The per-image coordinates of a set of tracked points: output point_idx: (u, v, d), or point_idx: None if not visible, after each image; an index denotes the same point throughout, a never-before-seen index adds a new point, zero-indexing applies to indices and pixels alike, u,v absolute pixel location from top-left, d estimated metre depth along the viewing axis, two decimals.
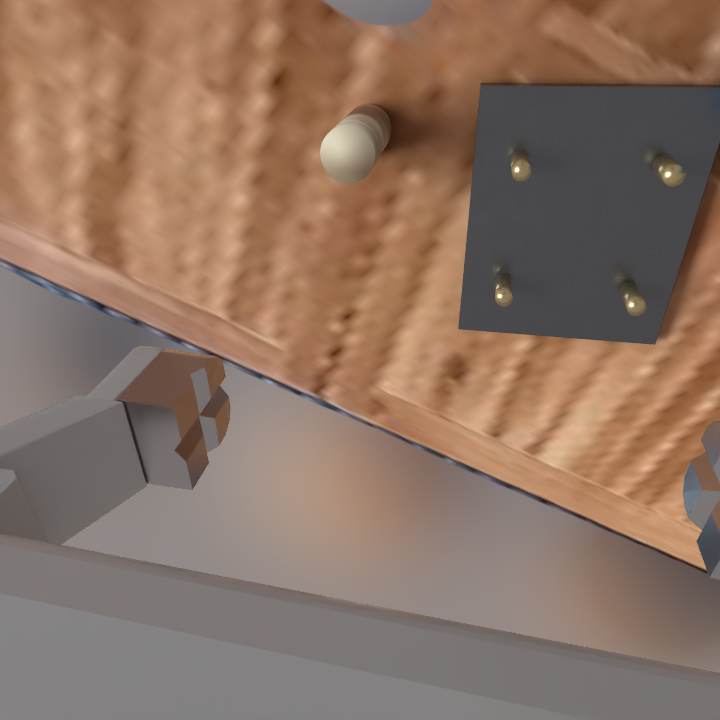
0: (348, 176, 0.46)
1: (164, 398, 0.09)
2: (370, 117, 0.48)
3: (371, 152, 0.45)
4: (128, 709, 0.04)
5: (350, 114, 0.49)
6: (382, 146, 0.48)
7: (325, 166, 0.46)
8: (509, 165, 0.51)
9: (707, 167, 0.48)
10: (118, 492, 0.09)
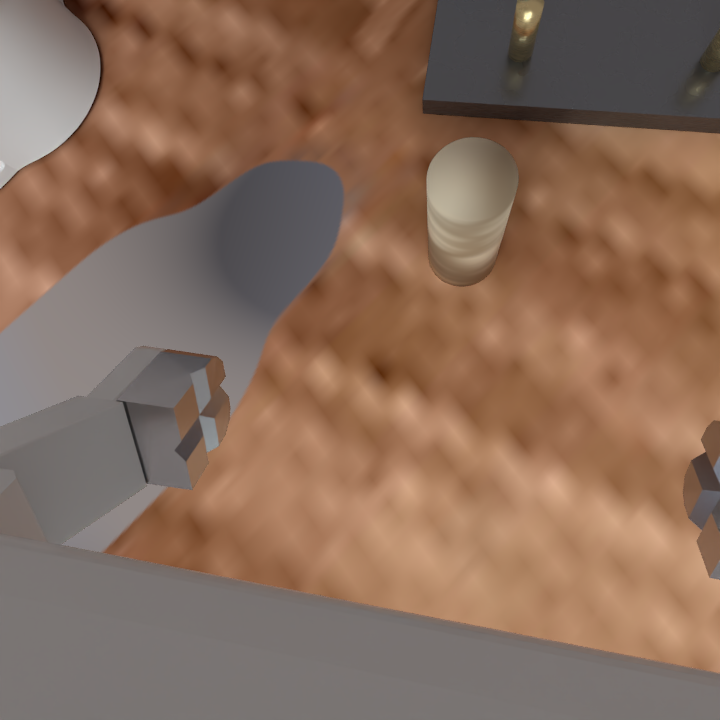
0: (506, 180, 0.27)
1: (164, 398, 0.09)
2: None
3: (471, 141, 0.28)
4: (128, 709, 0.04)
5: (428, 236, 0.33)
6: None
7: (486, 215, 0.27)
8: (527, 62, 0.37)
9: None
10: (119, 492, 0.09)
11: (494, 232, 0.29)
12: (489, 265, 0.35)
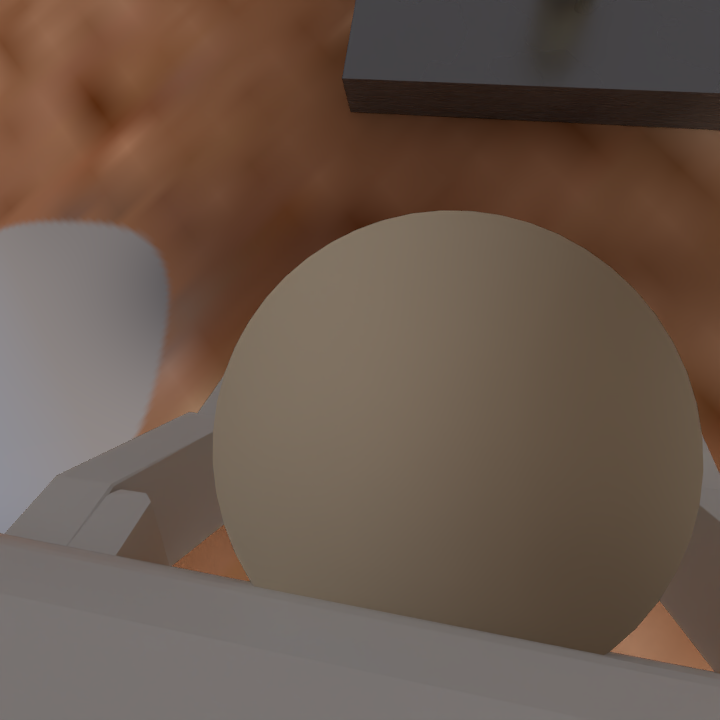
0: (630, 454, 0.05)
1: None
2: None
3: (439, 230, 0.06)
4: (128, 709, 0.04)
5: None
6: None
7: None
8: None
9: None
10: None
11: None
12: None
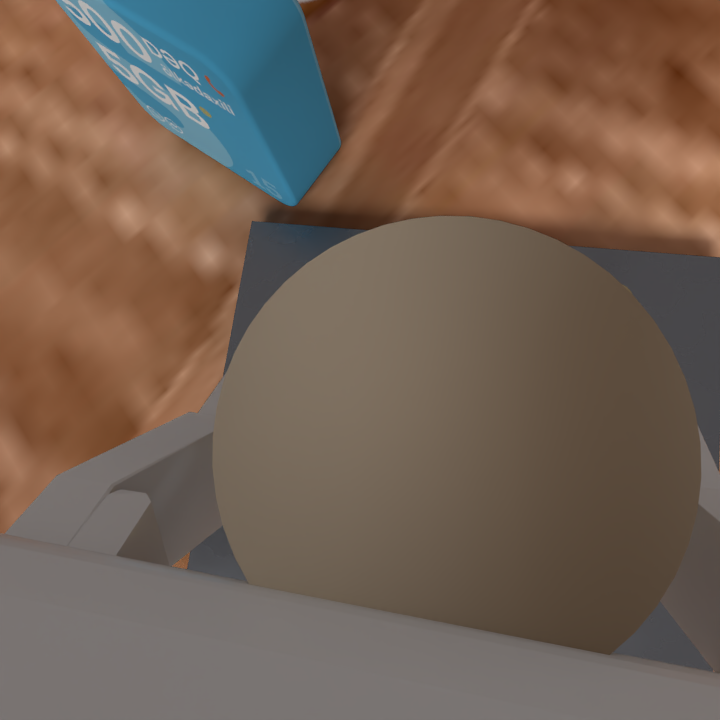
0: (630, 460, 0.05)
1: None
2: None
3: (439, 235, 0.06)
4: (128, 709, 0.04)
5: None
6: None
7: None
8: None
9: None
10: None
11: None
12: None
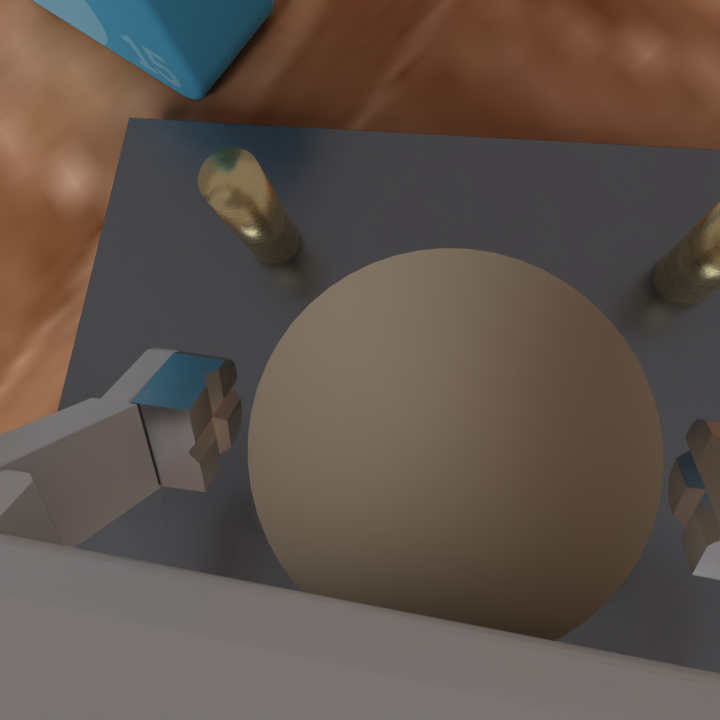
0: (604, 458, 0.06)
1: (178, 400, 0.09)
2: None
3: (442, 264, 0.06)
4: (128, 709, 0.04)
5: None
6: None
7: None
8: None
9: (300, 136, 0.18)
10: (132, 495, 0.09)
11: None
12: None
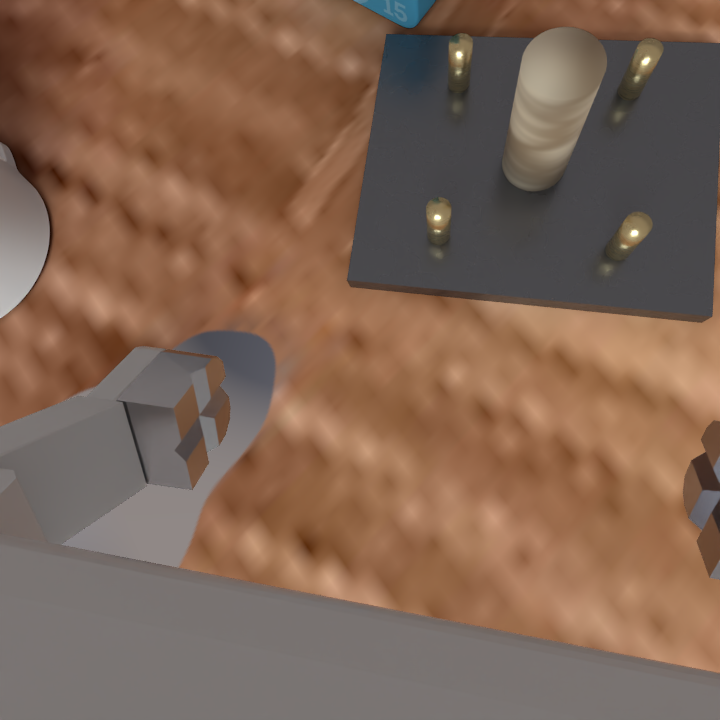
0: (595, 62, 0.30)
1: (164, 398, 0.09)
2: None
3: (561, 30, 0.31)
4: (128, 709, 0.04)
5: (510, 135, 0.36)
6: None
7: (578, 93, 0.30)
8: (445, 245, 0.40)
9: None
10: (118, 492, 0.09)
11: (579, 118, 0.32)
12: (564, 165, 0.37)
